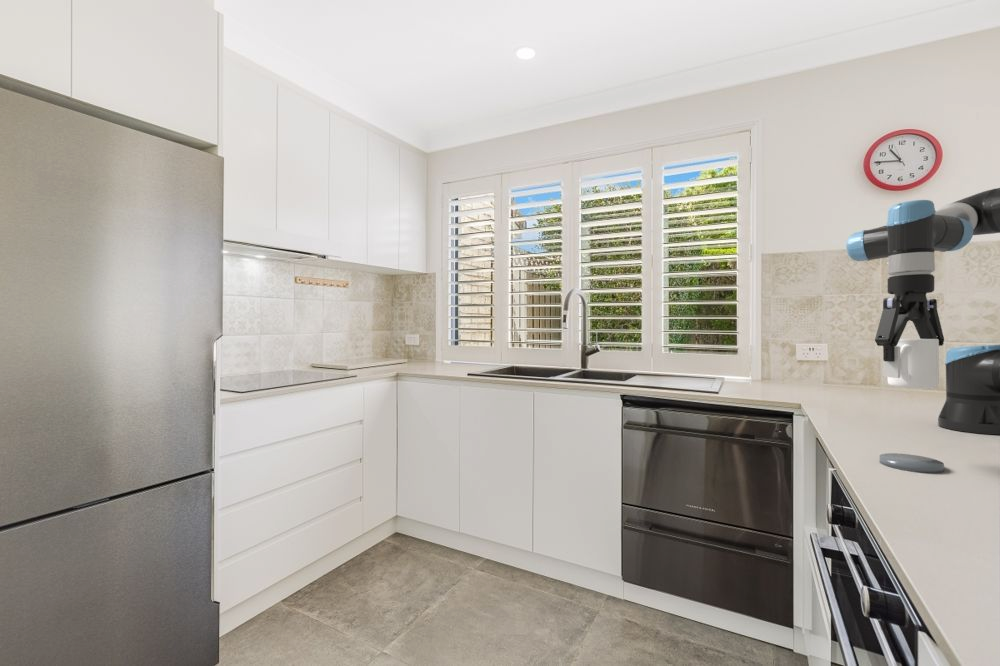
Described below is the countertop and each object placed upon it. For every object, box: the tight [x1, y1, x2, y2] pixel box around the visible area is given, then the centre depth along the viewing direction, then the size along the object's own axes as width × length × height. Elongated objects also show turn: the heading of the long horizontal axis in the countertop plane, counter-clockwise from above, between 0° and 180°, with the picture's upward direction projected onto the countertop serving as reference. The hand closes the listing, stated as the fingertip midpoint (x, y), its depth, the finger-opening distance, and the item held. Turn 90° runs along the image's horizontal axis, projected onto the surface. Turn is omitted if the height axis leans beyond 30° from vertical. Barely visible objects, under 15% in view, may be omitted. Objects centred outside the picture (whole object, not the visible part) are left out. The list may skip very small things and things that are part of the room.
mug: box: [886, 338, 940, 390], centre depth 99 cm, size 12×8×10 cm
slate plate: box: [879, 452, 945, 474], centre depth 96 cm, size 10×10×1 cm
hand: (910, 376), depth 99 cm, fingers closed on mug, 12 cm apart
